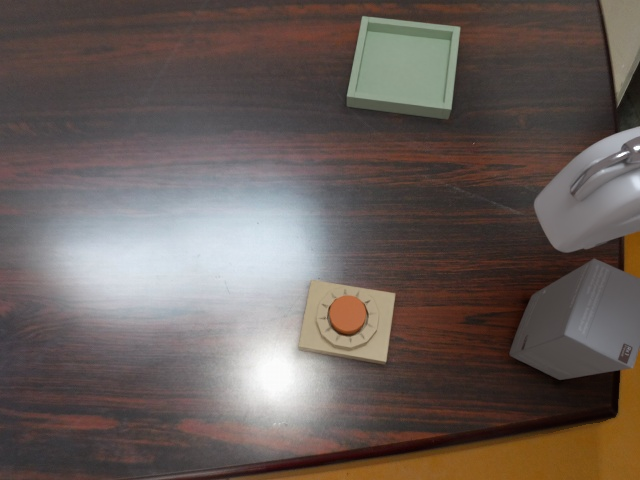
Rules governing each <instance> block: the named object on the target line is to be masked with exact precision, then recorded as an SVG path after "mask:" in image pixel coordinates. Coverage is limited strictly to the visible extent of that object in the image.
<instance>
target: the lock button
mask: <svg viewBox="0 0 640 480" xmlns="http://www.w3.org/2000/svg"><path fill="white" fill-rule="evenodd" d="M365 319H366V309H365V306H364V304H363V303H362V301H361V300H359V299H358V298H356V297H354V296H350V295H346V296H341V297H339V298H337V299H336V300H335V301H334V302H333V303H332V305H331V307H330V321H331V324H332V326H333V327H334V328H335V329H336V330H337V331H338V332H340V333H343V334H353V333H356V332H358V331H359V330H360V329H361V328H362V327H363V325H364V323H365Z"/></svg>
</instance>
